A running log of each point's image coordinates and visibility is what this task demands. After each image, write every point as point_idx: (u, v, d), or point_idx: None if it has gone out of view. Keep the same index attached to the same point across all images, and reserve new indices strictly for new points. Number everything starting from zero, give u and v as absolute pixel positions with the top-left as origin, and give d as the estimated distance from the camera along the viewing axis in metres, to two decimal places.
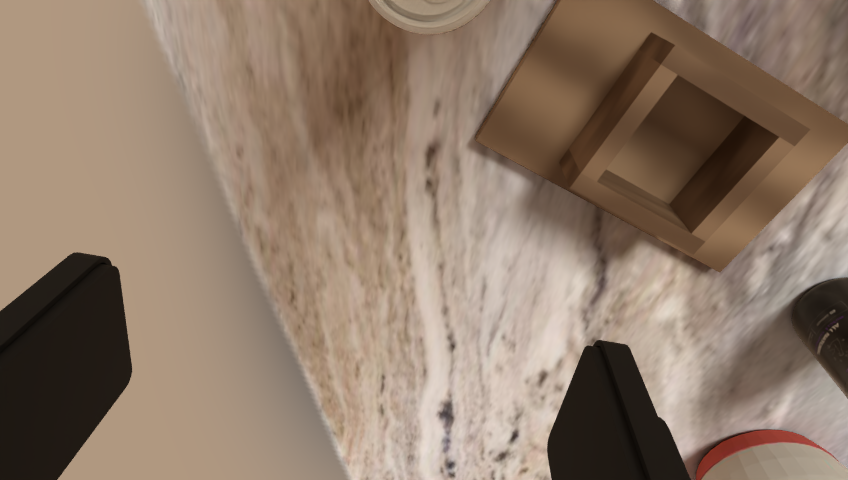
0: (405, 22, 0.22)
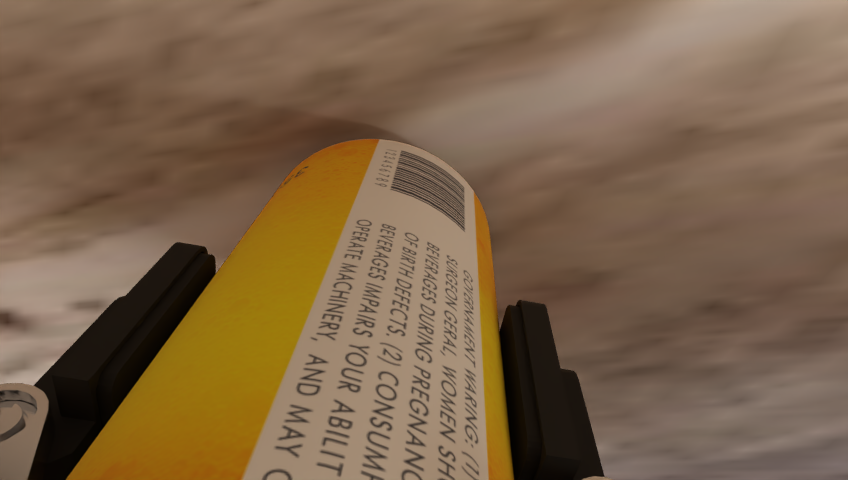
0: None
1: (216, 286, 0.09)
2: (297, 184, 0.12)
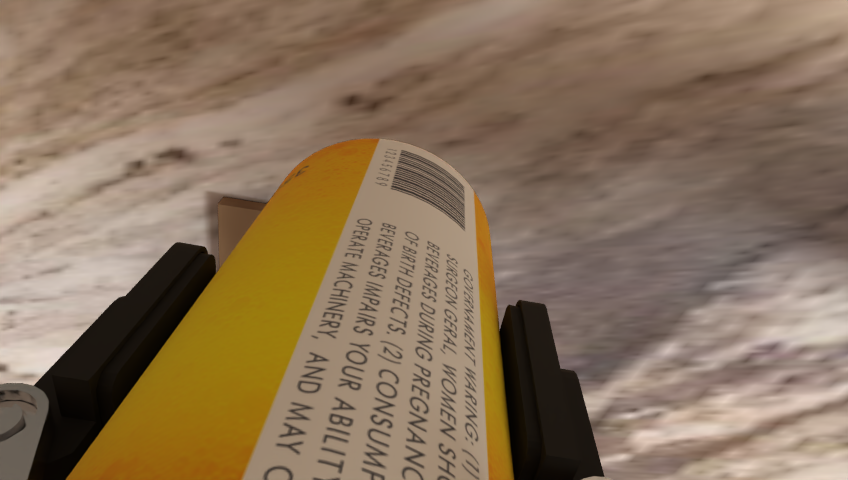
0: None
1: (217, 285, 0.09)
2: (298, 183, 0.12)
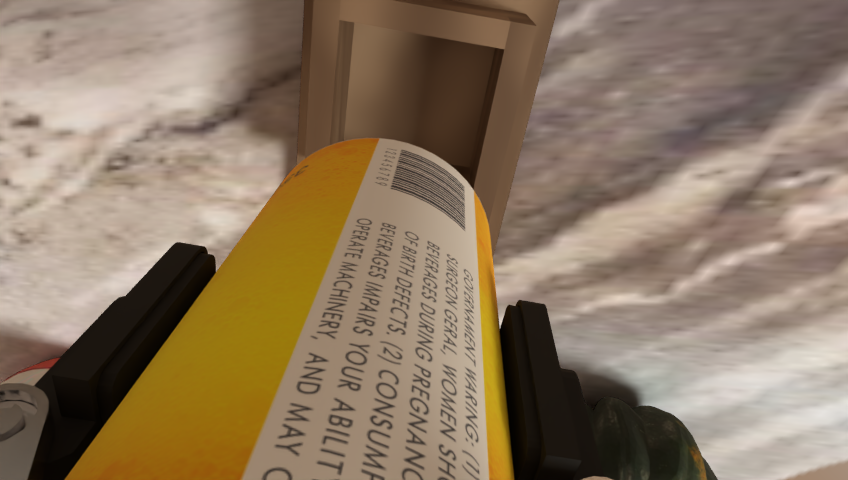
0: None
1: (216, 285, 0.09)
2: (297, 183, 0.12)
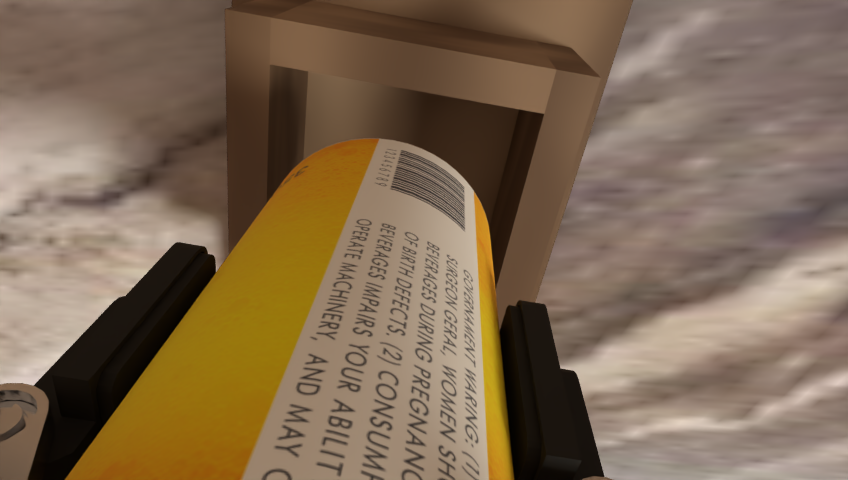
0: None
1: (216, 285, 0.09)
2: (297, 183, 0.12)
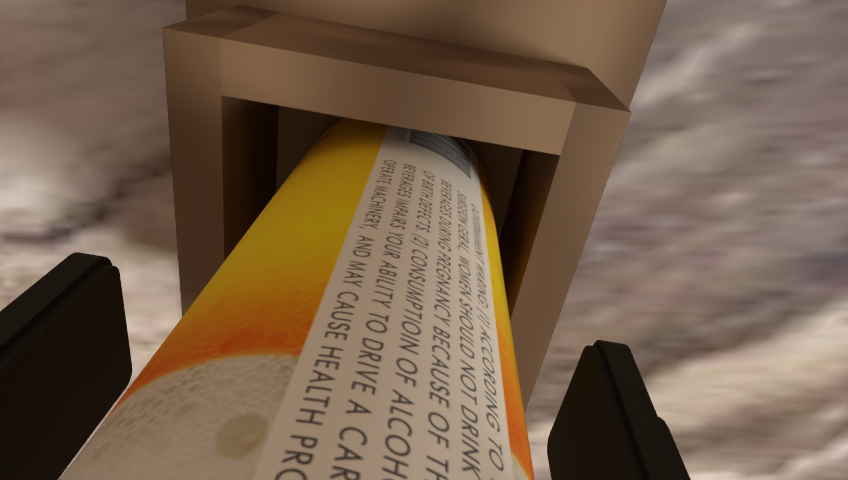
0: None
1: (272, 208, 0.11)
2: (327, 141, 0.14)
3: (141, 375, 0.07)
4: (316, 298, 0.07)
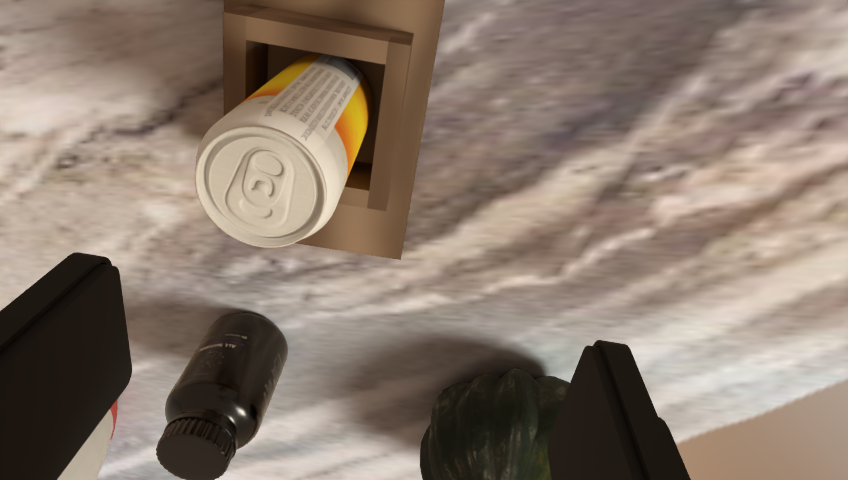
0: (197, 188, 0.22)
1: (267, 82, 0.28)
2: (290, 64, 0.31)
3: None
4: (281, 89, 0.24)
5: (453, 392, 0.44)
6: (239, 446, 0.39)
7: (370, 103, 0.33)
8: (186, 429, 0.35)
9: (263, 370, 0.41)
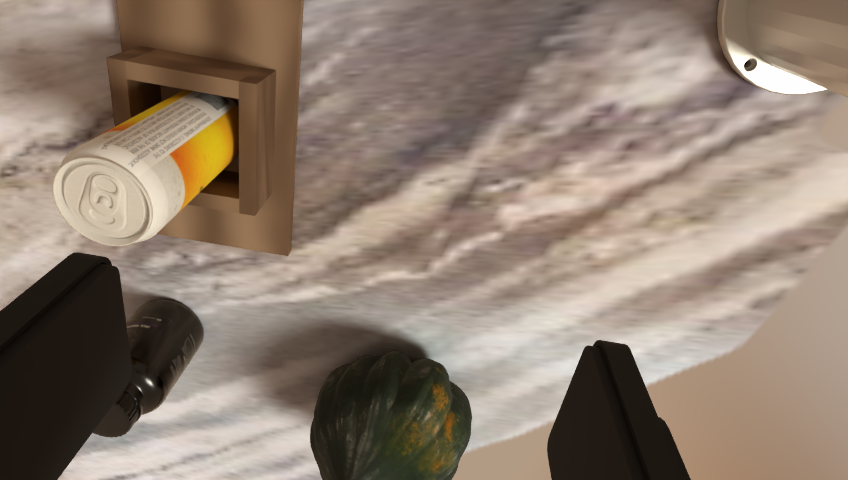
0: (55, 201, 0.30)
1: None
2: None
3: None
4: (132, 124, 0.32)
5: (341, 370, 0.52)
6: (148, 410, 0.47)
7: None
8: None
9: (172, 347, 0.49)
